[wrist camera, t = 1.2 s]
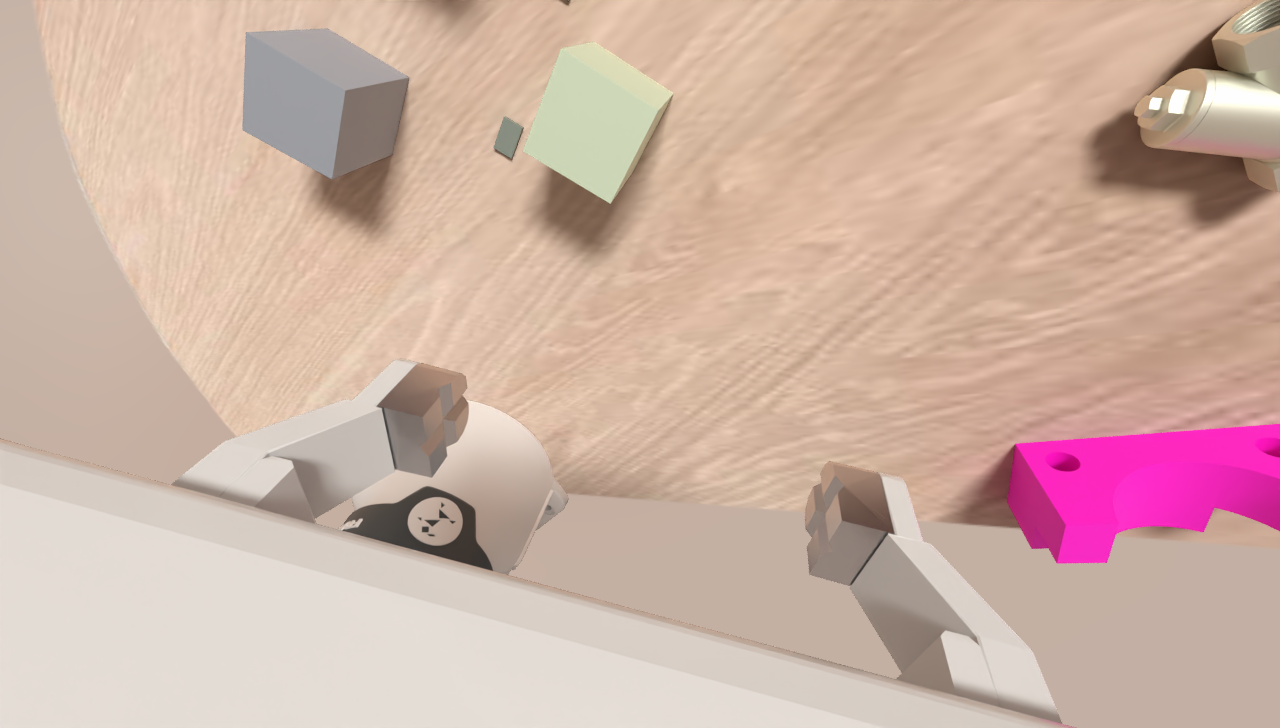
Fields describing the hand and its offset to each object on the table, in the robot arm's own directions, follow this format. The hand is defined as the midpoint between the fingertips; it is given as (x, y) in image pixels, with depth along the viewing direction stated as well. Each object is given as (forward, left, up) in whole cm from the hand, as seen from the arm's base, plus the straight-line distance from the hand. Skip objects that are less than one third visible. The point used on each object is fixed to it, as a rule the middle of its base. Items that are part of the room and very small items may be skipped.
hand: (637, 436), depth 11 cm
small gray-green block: (-4, +11, -23) cm, 26 cm away
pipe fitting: (+12, -18, -22) cm, 31 cm away
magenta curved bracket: (-2, -37, -24) cm, 44 cm away
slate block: (-7, +20, -23) cm, 32 cm away
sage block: (0, +6, -23) cm, 24 cm away
